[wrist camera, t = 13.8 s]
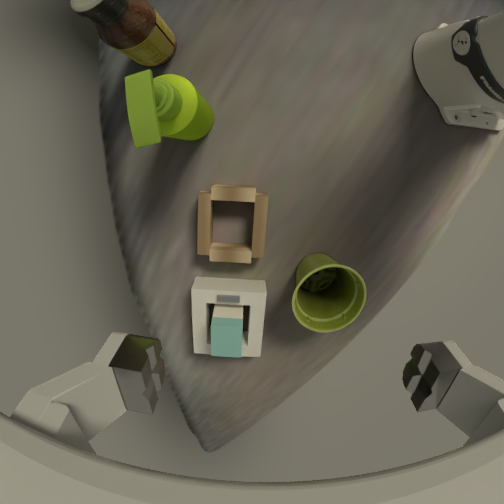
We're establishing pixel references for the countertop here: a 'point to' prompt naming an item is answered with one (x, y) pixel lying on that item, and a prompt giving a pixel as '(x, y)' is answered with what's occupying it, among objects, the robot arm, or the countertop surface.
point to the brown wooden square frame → (229, 250)
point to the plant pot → (327, 294)
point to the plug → (227, 330)
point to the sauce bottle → (130, 28)
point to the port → (233, 294)
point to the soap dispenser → (165, 109)
